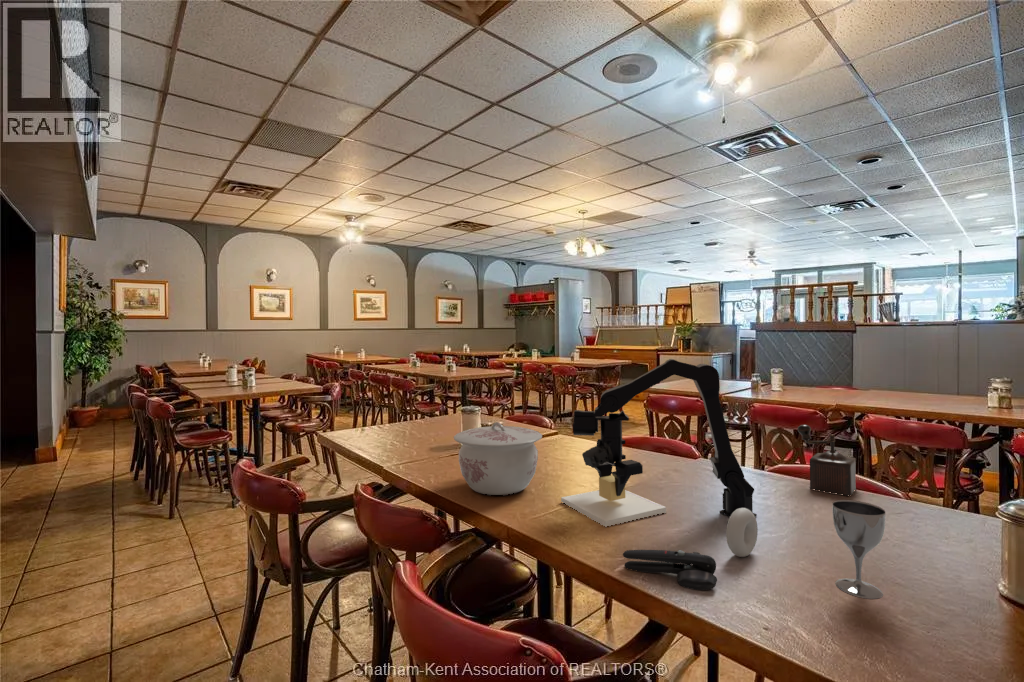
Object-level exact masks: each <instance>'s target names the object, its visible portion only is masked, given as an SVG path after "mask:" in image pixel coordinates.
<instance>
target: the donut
mask: <svg viewBox="0 0 1024 682" xmlns="http://www.w3.org/2000/svg"><path fill="white" fill-rule="evenodd" d="M753 513H754V512H753ZM753 513H752V512H751V511H750V510H748V509H746V508H738V509H736V510H735V511H734V512H733V513H732V514H731V516H730V517H729V518H728V520H727V521H728V522H727V525H726V533H725V534H726V535H725V537H726V544H727V546H728V549H729V550H730V552H731V553H732V554H733V555H734V556H737V557H739V558H740V557H741V558H745V557H747V556H749V555H750V554H751V553H752V552H753V551H754V549H755V546H756V544H757V539H758V535H759V534H758V532H759V529H758V521H757V518H756V517H755V516H754V514H753Z"/></svg>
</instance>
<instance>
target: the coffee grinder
mask: <svg viewBox="0 0 1024 682" xmlns="http://www.w3.org/2000/svg"><path fill="white" fill-rule="evenodd" d="M811 431H812V427H811V425H808V424H800V425H799V426H797V432H798V433H799V434H800V435H801V440H804V443H805V444H810V445H815V444H818V445H819V444H822V445H823V444H829V443H830V450H826V451H824V452H817V453H815V454H814V455H813V456H812V457H811V458H810V459H809V490H810V489H815V490H820V491H825V492H831V493H837V494H843V495H849V496H850V495H852V494H854V493H855V492H854V490H857V488H856V486H857V485H856V481H857V479H856V478H857V477H856V472H857V471H856V463H857V462H856V461H857V459H856V457H849V456H847V455H844V454H843V453H841V452H839V451H837V449H835V442H836V439H835V438H836V436H835V435H834V434H830V435H829V439H827V440H812V436H811V435H810V434H811ZM853 492H854V493H853ZM852 496H853V495H852ZM850 497H851V496H850Z"/></svg>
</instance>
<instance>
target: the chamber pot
mask: <svg viewBox="0 0 1024 682" xmlns="http://www.w3.org/2000/svg"><path fill="white" fill-rule="evenodd" d="M542 438H543V434H542V433H541V432H539V430H538V431H537V430H535V429H531V428H528V427H521V426H514V425H512V426H511V425H509V426H508V425H503V424H502V423H500V422H498V421H497V422H494V423H493V424H492V425H490V426H482V427H481V426H480V427H474V428H473V427H472V428H470V429H466V430H462V431H460V432H457V433H456V434H454V436H453V440H454V441H455V442H457V443H459V444H461V447H460V448H459V450H458V463H459V468H460V473H461V476H462V477H463V479H464V480H465V482H466V483H467V485H468V486H469V488H470V489H471V490H472V491H474V492H476V493H479V494H483V495H485V494H487V495H486V496H491V495H503V496H509V495H508V494H510V495H512V494H513V493H514V494H517V493H519V492H522V491H523V490H525V489H527V487H528V486H529V484H530V483H531V481H532V479H533V478H534V476H535V474H536V470H537V466H538V465H537V464H538V460H539V459H538V458H539V450H538V448H537V447H536V445H535V443H536V442H538V441H540V440H541V439H542ZM514 494H513V495H514Z"/></svg>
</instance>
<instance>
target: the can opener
mask: <svg viewBox="0 0 1024 682" xmlns="http://www.w3.org/2000/svg"><path fill="white" fill-rule="evenodd" d="M622 556H623V557H624V558H625V559H627V560H628V561H626V562H625V563H624V568H625V569H627V568H628V569H627V570H629V569H632V570H631V571H634V570H637V571H636V572H639V571H641V572H640V573H650V574H651V573H653V574H654V573H655V574H674V575H676V576H677V577H676V578H677V582H678V584H679V586H682V587H683V588H687V589H692V590H695V591H697V590H698V591H706V590H707V591H708V590H712V589H714V588H715V587H716V585H717V581H718V578H717V576H716V575H714V574H715V572H716V571H717V570H716V569H717V563H716V560H715V558H714V557H712V556H710V555H706V554H701V553H699V551H692V552H687V551H686V552H685V551H683V550H681V549H678V550H677V551H675V550H666V549H663V550H662V549H628V550H624V551H623V553H622Z"/></svg>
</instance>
